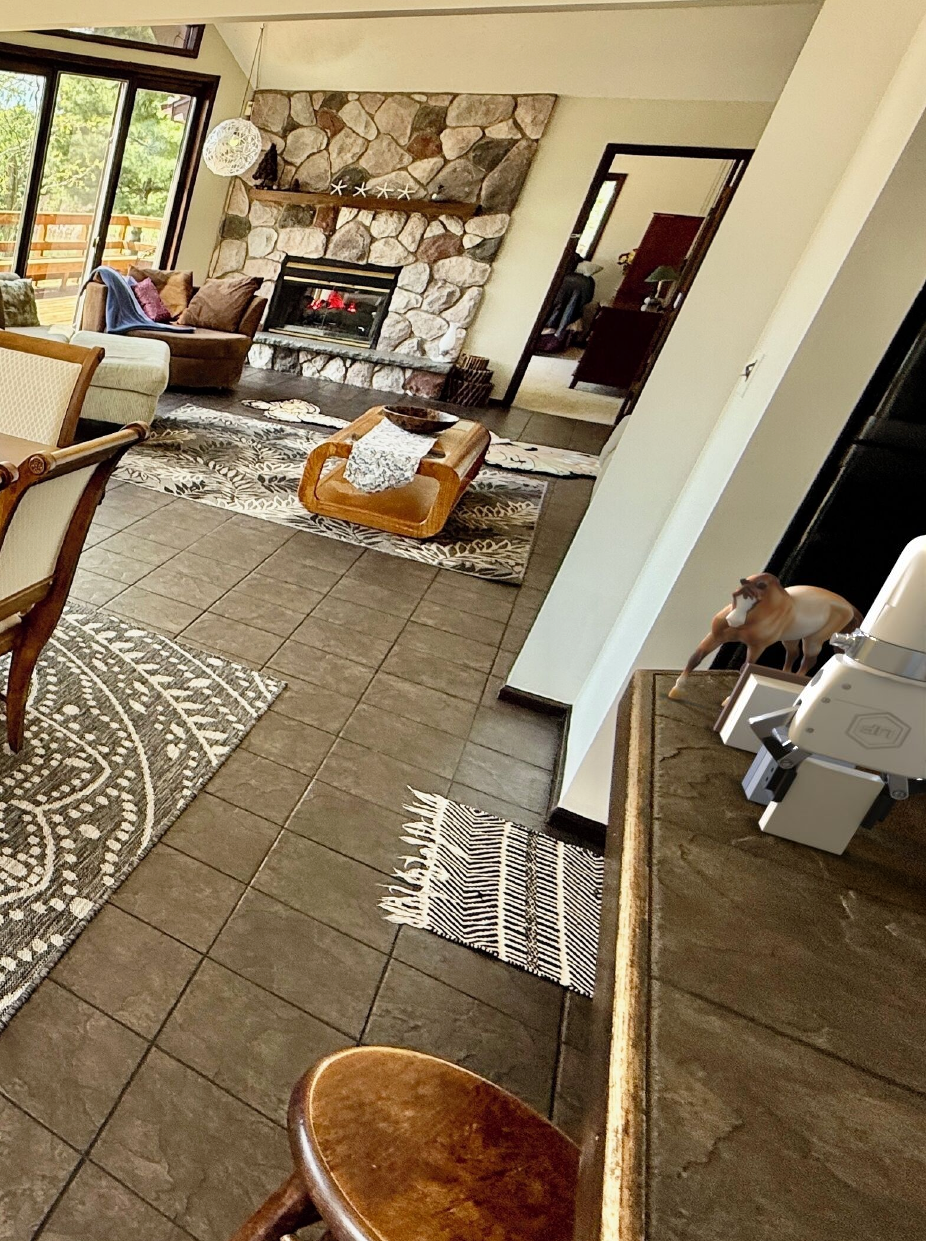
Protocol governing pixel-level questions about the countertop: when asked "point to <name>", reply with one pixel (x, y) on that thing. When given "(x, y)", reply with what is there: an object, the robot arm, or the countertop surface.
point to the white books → (757, 703)
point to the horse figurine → (776, 623)
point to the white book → (822, 805)
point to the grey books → (763, 764)
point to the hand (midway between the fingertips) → (816, 808)
